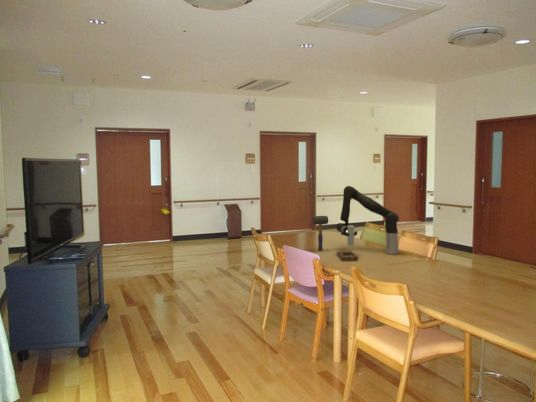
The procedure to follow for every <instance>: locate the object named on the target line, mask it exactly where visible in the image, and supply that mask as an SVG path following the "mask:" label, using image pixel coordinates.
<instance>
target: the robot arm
mask: <svg viewBox="0 0 536 402" xmlns="http://www.w3.org/2000/svg"><path fill="white" fill-rule="evenodd" d="M352 199H353V200H355V202H358V204H360V205H361V206H362V207H364V208H365V209H366V210H367V211H369V212H371V213H374V214H376V215H378V216H380V217H383V218H384V219H385V220H384V223H385V224H384V225H385V228H384V229H385V254H387V255H398V254H399V242H398V239H399V236H398V235H399V234H398V233H399V230H398V228H397V227H398V226H397V225H398V223H399V221H400V216H399V215H398V214H397V213H396V212H394V211H391V210H390V209H388V208H386V207H385V206H383V205H382V204H380V203H379V202H378V201H376V200H374V199H373V198H371V197H369V196H367V195H366V194H365V195H364V194H363V193H362V192H360V191H359V190H357V189H356V188H355V187H353V186H350V185H347V186H345V187H344V189H343V199H342V207H341V213H340V218H339V220H341V221H342V222H344V223H341V222H339V223H337V224H336V227H335V228H336V230H337V231H338V232H339V233H340V235H342V236H345V237H348V236H349V233H348V226H349V225H350V224H349V218H350V212H351V201H352ZM357 235H358V230H354V237H355V236H357Z"/></svg>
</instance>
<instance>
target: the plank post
mask: <svg viewBox="0 0 536 402" xmlns="http://www.w3.org/2000/svg"><path fill="white" fill-rule="evenodd" d="M354 232H355V225H350V224H349V226H348V233H349V236H347V245H348V246H350V247H351V246H355V236H354Z"/></svg>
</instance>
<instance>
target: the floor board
mask: <svg viewBox="0 0 536 402" xmlns="http://www.w3.org/2000/svg"><path fill="white" fill-rule="evenodd" d="M336 257H337V258H338V259H339V260H340V261H341V262H358V260H359V259H358V256H357V255H356V254H355V253H354V252H353V251H336Z"/></svg>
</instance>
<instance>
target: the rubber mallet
mask: <svg viewBox="0 0 536 402" xmlns="http://www.w3.org/2000/svg"><path fill="white" fill-rule="evenodd" d="M328 223H329V217H328V216H327V215H317V216H316V215H315V216H312V225H318V235H317V237H318V239H317V241H318V247H317V250H318V251H319V252H321V251H323V249H324V248H323V240H324V239H323V238H324V237H323V225H328Z"/></svg>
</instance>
